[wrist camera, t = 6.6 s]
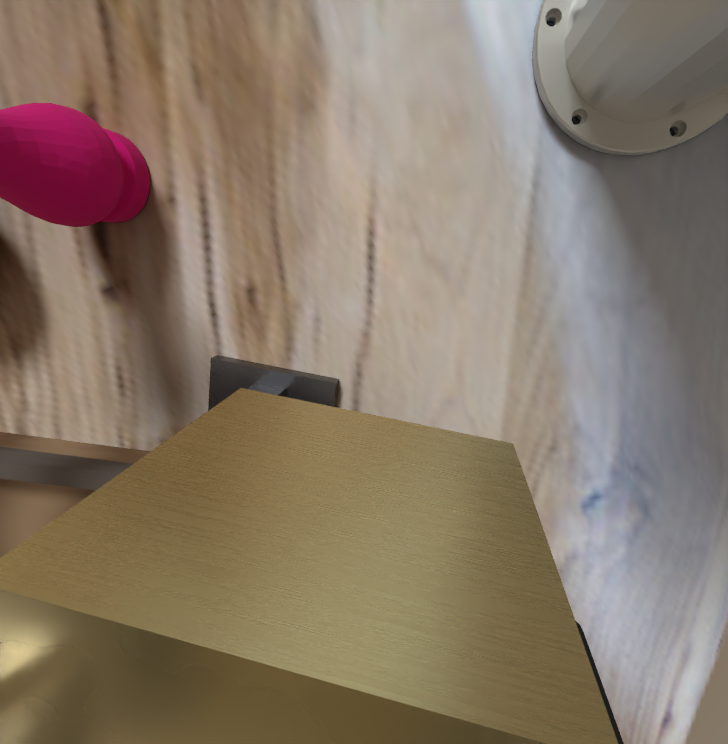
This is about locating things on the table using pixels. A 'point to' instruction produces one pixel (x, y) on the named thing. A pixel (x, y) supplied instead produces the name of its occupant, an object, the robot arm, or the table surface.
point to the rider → (297, 594)
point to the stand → (267, 382)
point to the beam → (50, 480)
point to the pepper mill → (69, 167)
